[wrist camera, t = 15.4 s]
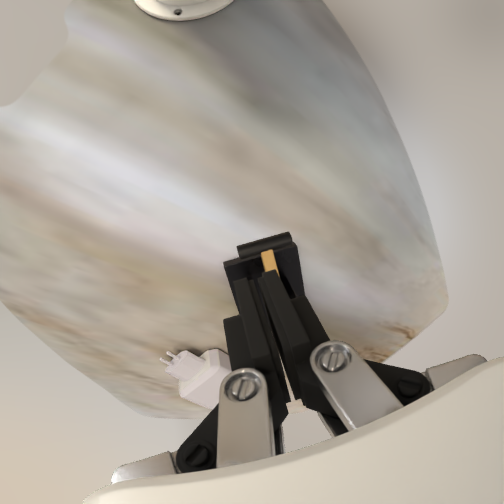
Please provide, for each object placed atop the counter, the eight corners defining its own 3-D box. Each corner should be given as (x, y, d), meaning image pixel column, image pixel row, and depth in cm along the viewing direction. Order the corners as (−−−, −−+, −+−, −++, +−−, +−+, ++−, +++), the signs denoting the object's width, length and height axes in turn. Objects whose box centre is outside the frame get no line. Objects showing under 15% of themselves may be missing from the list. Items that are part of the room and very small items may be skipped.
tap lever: (235, 244, 28) (237, 248, 26) (285, 230, 29) (291, 232, 26) (269, 360, 30) (273, 372, 28) (313, 346, 31) (320, 357, 28)
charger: (183, 325, 39) (258, 368, 45) (147, 359, 41) (220, 396, 47) (183, 349, 35) (264, 390, 41) (144, 383, 37) (223, 417, 43)
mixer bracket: (223, 262, 36) (236, 331, 25) (293, 241, 36) (336, 300, 25) (246, 332, 41) (264, 404, 30) (306, 314, 42) (339, 379, 31)
